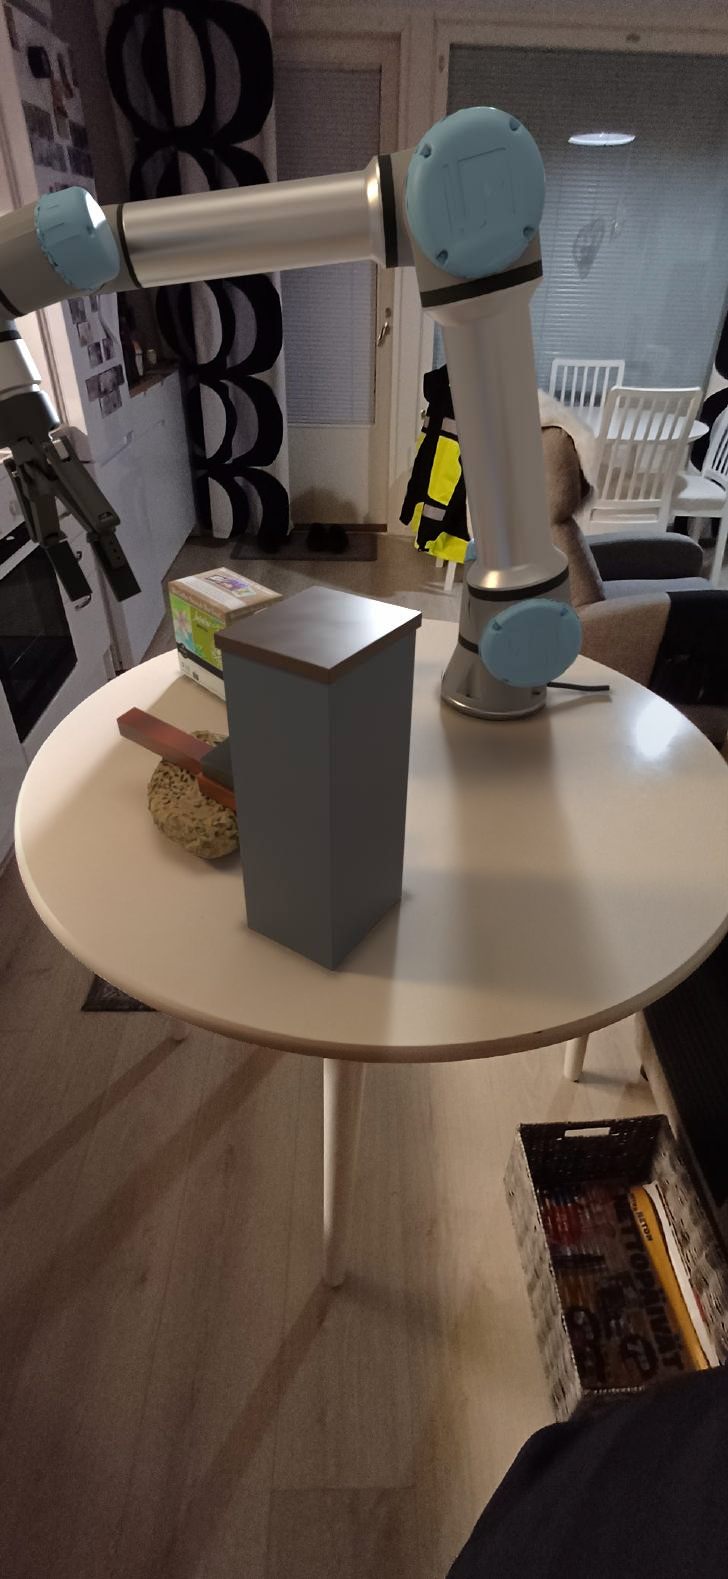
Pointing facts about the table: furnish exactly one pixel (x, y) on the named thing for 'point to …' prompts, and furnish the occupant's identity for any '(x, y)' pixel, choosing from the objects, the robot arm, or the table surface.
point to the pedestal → (320, 764)
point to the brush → (184, 753)
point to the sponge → (191, 809)
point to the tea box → (211, 619)
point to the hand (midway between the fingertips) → (104, 597)
